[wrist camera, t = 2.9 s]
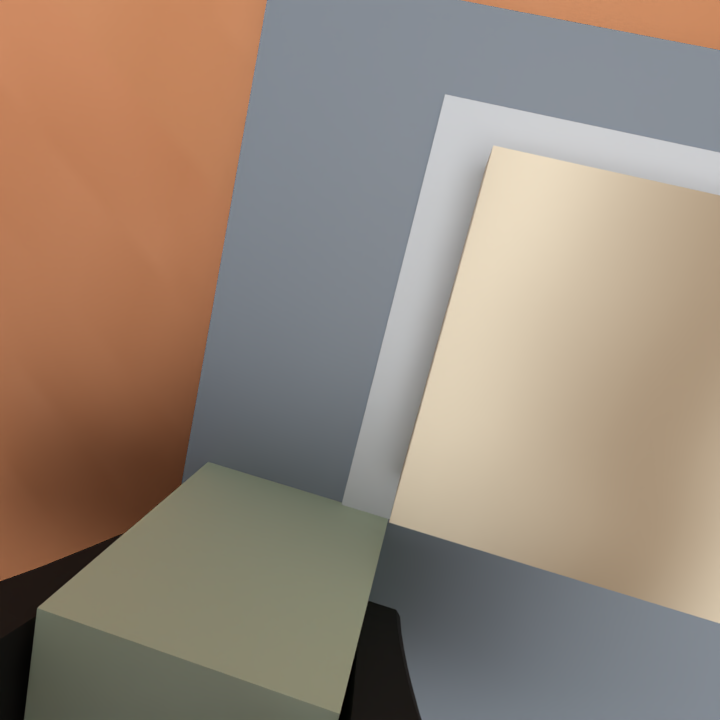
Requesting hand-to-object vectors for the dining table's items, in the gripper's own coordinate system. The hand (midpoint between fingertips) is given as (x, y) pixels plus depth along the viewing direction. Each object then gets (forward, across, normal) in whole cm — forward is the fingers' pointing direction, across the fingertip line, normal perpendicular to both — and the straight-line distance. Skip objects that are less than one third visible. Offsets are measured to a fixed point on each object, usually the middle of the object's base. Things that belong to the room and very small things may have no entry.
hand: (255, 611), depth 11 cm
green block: (+1, 0, 0) cm, 1 cm away
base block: (+1, -5, -6) cm, 8 cm away
